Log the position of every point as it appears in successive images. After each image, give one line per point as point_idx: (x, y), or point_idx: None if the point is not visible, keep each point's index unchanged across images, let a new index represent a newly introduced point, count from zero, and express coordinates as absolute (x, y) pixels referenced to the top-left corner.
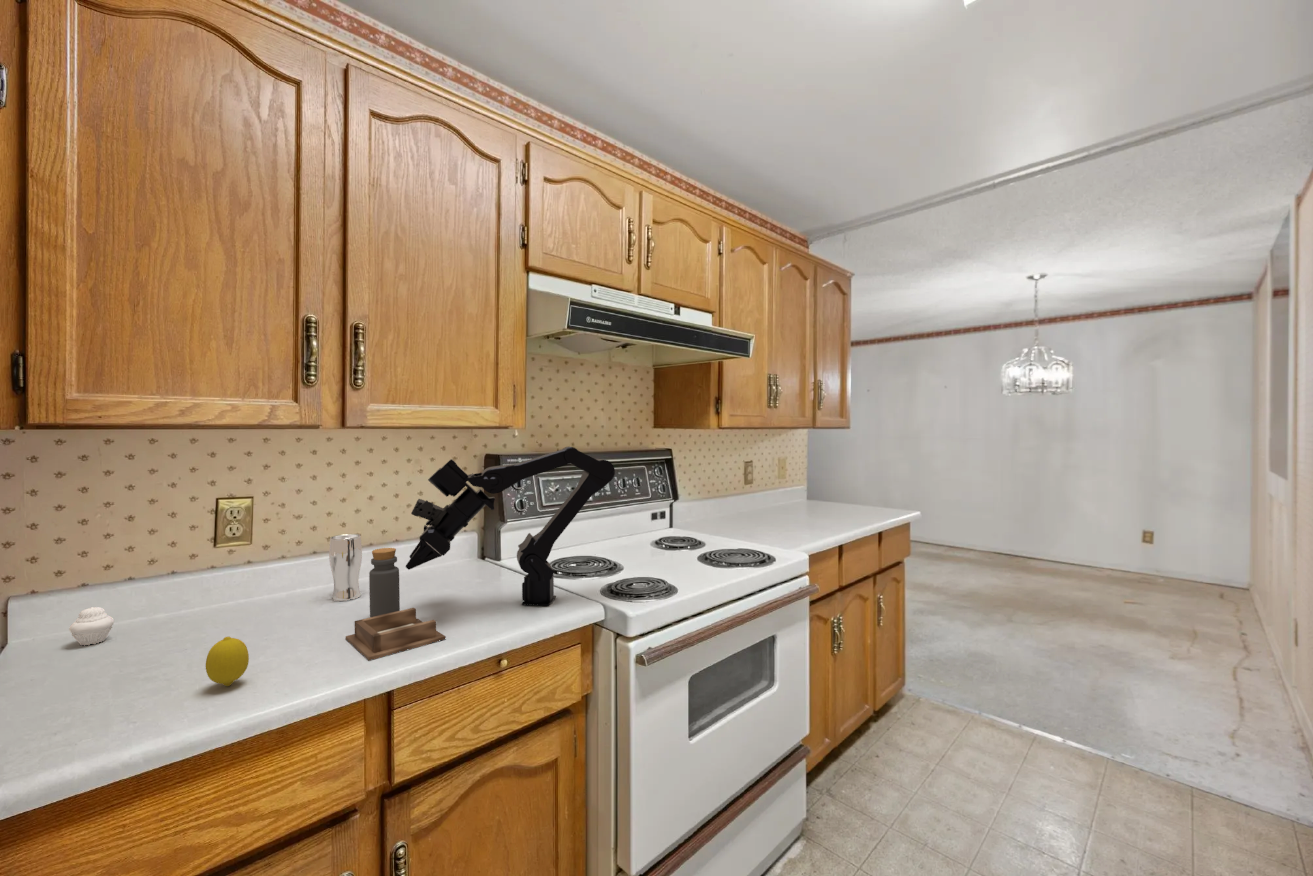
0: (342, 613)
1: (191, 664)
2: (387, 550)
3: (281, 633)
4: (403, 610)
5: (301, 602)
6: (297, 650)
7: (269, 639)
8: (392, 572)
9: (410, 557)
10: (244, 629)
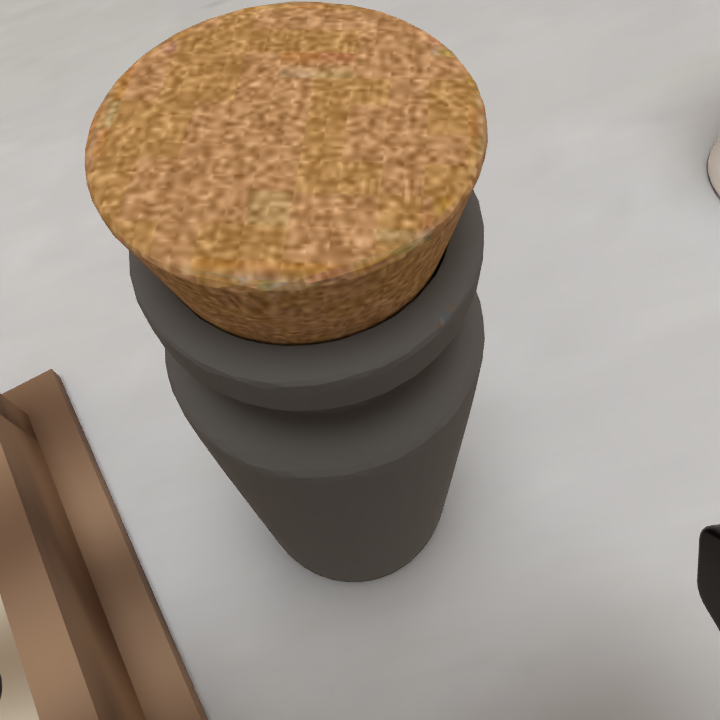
0: (496, 241)
1: (40, 11)
2: (204, 176)
3: None
4: (62, 665)
5: (687, 40)
6: (10, 232)
7: None
8: (204, 434)
9: (700, 549)
10: (347, 3)
